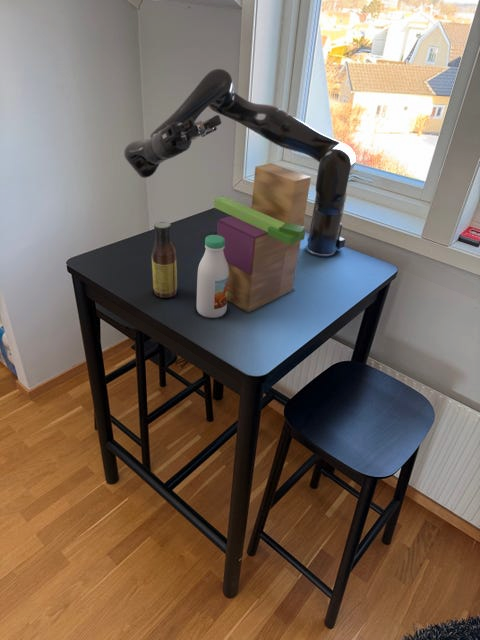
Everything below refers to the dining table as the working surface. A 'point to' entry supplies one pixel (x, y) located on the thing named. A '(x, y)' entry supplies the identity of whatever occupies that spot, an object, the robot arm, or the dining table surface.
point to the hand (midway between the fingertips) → (206, 120)
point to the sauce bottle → (164, 261)
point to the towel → (238, 241)
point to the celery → (261, 221)
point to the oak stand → (271, 238)
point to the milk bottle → (213, 279)
